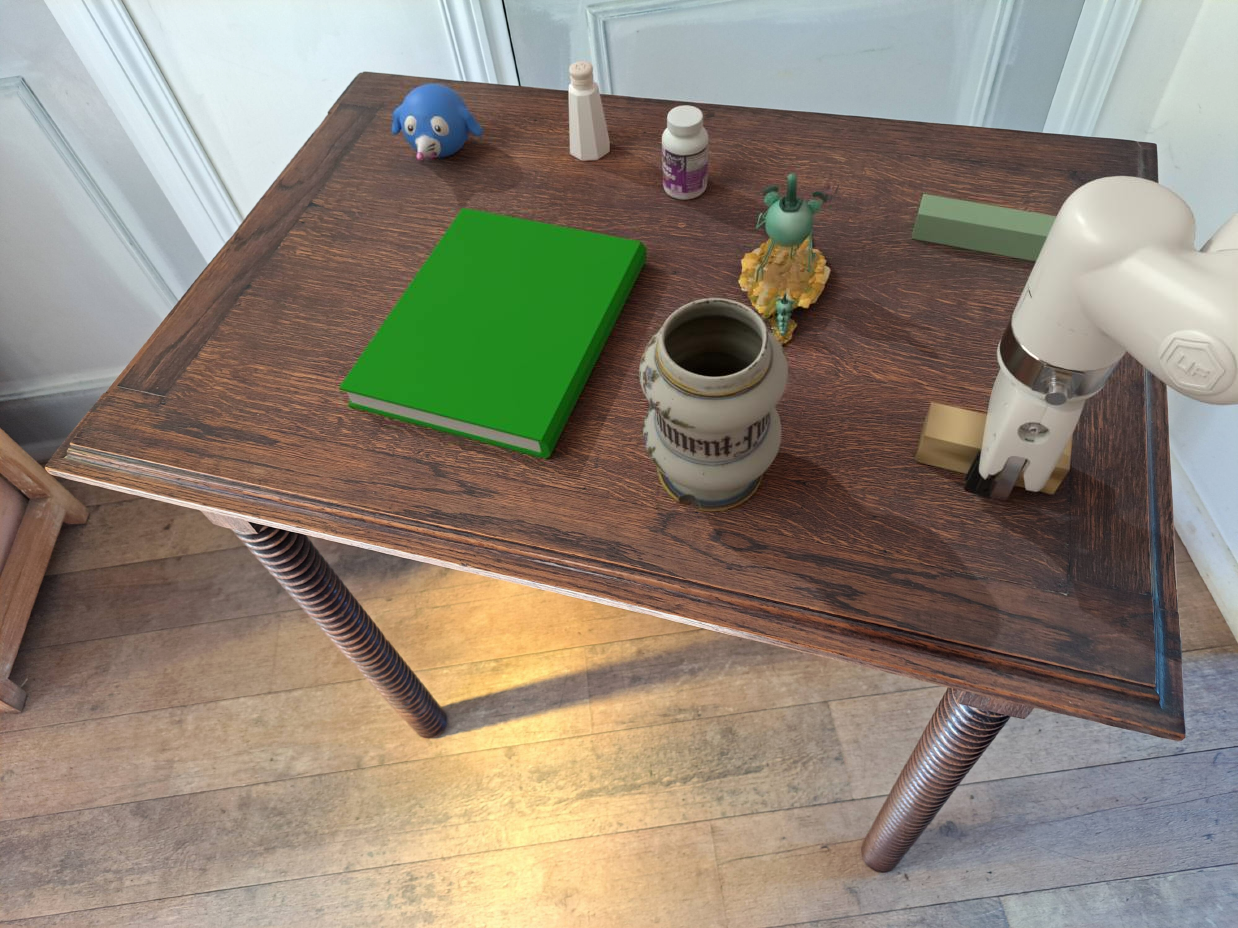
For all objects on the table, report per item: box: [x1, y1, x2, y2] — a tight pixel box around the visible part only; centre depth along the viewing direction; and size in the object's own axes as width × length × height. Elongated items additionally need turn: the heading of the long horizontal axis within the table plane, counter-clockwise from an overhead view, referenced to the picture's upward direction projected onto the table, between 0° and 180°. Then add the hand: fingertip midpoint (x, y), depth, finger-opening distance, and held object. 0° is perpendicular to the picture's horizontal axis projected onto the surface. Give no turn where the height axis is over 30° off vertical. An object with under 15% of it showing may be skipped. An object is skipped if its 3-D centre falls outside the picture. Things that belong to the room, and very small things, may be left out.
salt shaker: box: [568, 60, 611, 162], centre depth 104 cm, size 5×5×11 cm
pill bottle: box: [661, 104, 709, 201], centre depth 99 cm, size 5×5×10 cm
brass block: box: [914, 401, 1074, 496], centre depth 76 cm, size 12×4×4 cm, turn 70°
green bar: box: [910, 193, 1057, 262], centre depth 92 cm, size 16×4×4 cm, turn 69°
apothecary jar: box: [638, 297, 789, 512], centre depth 72 cm, size 12×12×18 cm
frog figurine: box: [738, 173, 831, 346], centre depth 87 cm, size 10×18×15 cm, turn 159°
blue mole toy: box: [390, 83, 484, 162], centre depth 106 cm, size 12×12×8 cm
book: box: [338, 207, 647, 460], centre depth 90 cm, size 22×28×3 cm
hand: (983, 488), depth 75 cm, fingers closed
